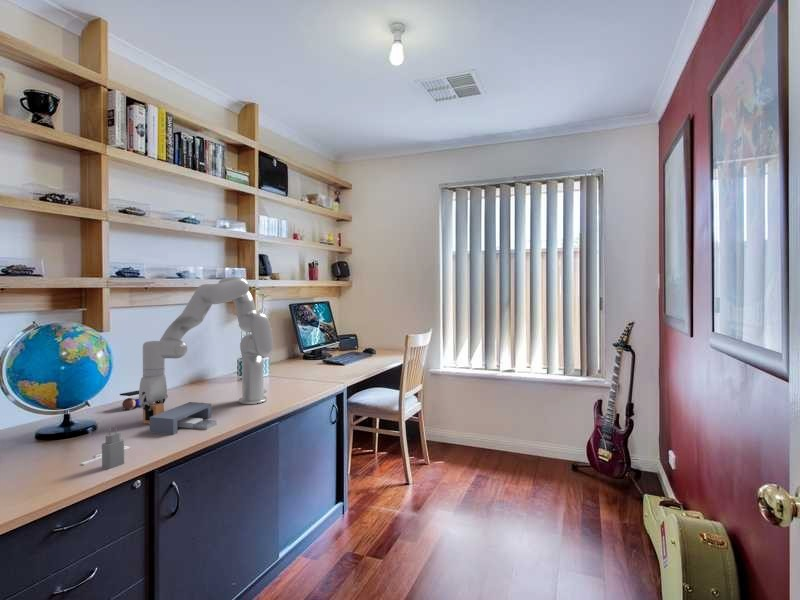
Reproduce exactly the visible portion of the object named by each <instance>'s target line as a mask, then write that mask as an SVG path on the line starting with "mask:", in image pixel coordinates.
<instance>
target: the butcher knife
mask: <svg viewBox="0 0 800 600" xmlns="http://www.w3.org/2000/svg"><path fill="white" fill-rule="evenodd" d="M129 449H131V446H128V445H124V452H125V451H128V450H129ZM93 457H94V458H93ZM99 460H102V452H101V453H99V454H96V455H94V456H92V459H89V460H85V461H83V462H80V465H82V466H86V465H88V464H91V463H93V462H94V463H95V462H97V461H99Z"/></svg>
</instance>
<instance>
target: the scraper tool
mask: <svg viewBox="0 0 800 600" xmlns="http://www.w3.org/2000/svg"><path fill="white" fill-rule="evenodd" d="M148 406H149V404H148ZM164 408H165V407H164V404H160V403H155V402H153V406H152V410H153V416H154V415H157V414H159V413H162V412H165V410H164ZM203 419H204V418H194V417H185V418H183V419H180V420H178V421H177V428H183V429H194V428H193V424H194V423H196V422H198V421H201V420H203ZM142 423H143V424H149V425H150V421H149V420H145V410H144V409H143V408H142Z"/></svg>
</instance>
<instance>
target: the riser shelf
mask: <svg viewBox="0 0 800 600" xmlns="http://www.w3.org/2000/svg"><path fill="white" fill-rule="evenodd" d="M185 417H189V418H201V419H205V420H210V419H211V418H212V403H210V402H208V403H207V402H195V401H189V402H186V403H183V404H181V405H179V406H176V407H173V408H171V409H167V410H164V412H162V413H159V414H157V415H154V416H151V417H150V424H149V433H153V434H163V435H176V434H178V427H177V421H178V420H180V419H183V418H185Z"/></svg>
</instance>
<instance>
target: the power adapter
mask: <svg viewBox="0 0 800 600" xmlns="http://www.w3.org/2000/svg"><path fill="white" fill-rule="evenodd" d="M108 429H109V431H108V434H106V435H105V442H103V443H101V453H102V459H101V467H102V469H104V470H110V469H114V468H116V467H119V466H122V465H124V464H125V451H124V446H125V439H123V438H121V431H118V429H117V425H116V424H115V428H114V429H115V431H114V432H111V426H109V428H108Z"/></svg>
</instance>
